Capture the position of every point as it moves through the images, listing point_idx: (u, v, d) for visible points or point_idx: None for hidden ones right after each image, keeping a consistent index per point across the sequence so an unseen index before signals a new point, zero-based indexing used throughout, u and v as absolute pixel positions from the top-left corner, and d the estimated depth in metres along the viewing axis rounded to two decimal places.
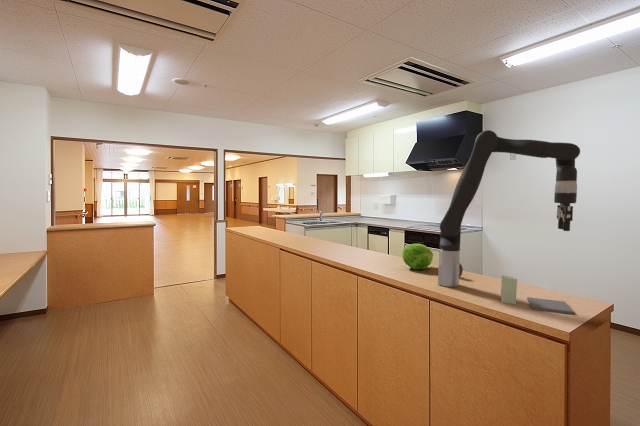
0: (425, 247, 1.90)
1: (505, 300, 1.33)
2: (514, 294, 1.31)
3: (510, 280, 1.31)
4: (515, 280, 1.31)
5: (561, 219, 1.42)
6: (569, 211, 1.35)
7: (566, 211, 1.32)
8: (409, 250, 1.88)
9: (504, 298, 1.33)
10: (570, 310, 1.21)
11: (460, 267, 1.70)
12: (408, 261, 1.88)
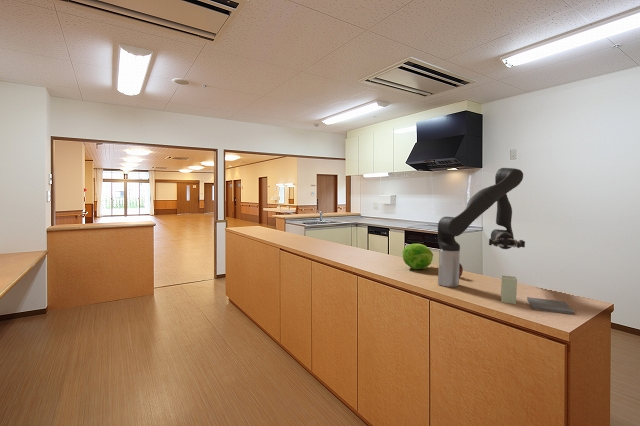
0: (425, 247, 1.90)
1: (505, 300, 1.33)
2: (514, 294, 1.31)
3: (510, 280, 1.31)
4: (515, 280, 1.31)
5: None
6: None
7: None
8: (409, 250, 1.88)
9: (504, 298, 1.33)
10: (570, 310, 1.21)
11: (460, 267, 1.70)
12: (408, 261, 1.88)
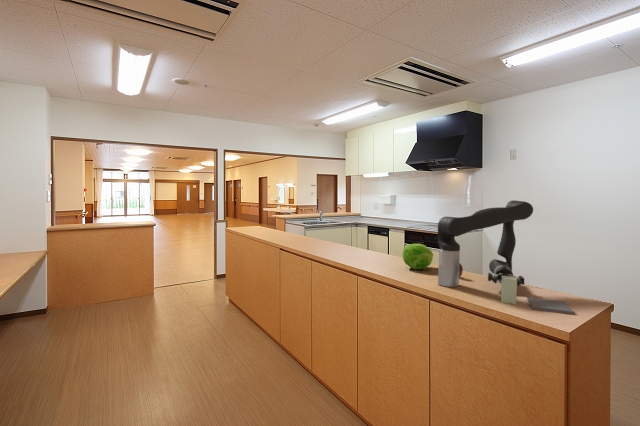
0: (425, 247, 1.90)
1: (505, 300, 1.33)
2: (514, 294, 1.31)
3: (510, 280, 1.31)
4: (515, 280, 1.31)
5: None
6: None
7: (522, 277, 1.46)
8: (409, 250, 1.88)
9: (504, 298, 1.33)
10: (570, 310, 1.21)
11: (460, 267, 1.70)
12: (408, 261, 1.88)
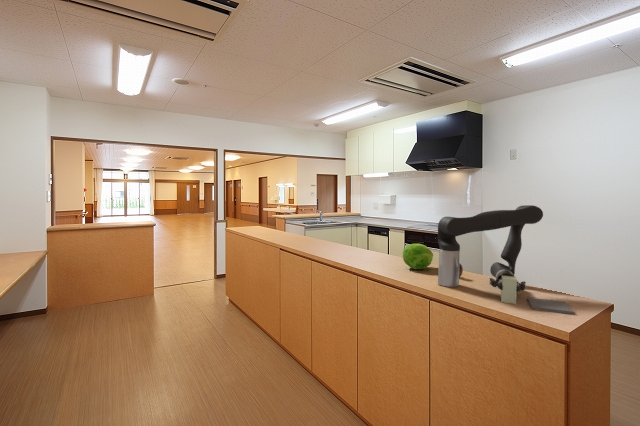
0: (425, 247, 1.90)
1: (505, 300, 1.33)
2: (514, 294, 1.31)
3: (510, 280, 1.31)
4: (515, 280, 1.31)
5: None
6: None
7: (525, 283, 1.36)
8: (409, 250, 1.88)
9: (504, 298, 1.33)
10: (570, 310, 1.21)
11: (460, 267, 1.70)
12: (408, 261, 1.88)
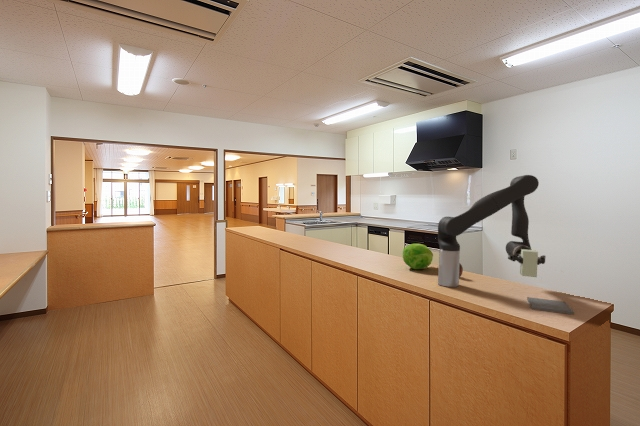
0: (425, 247, 1.90)
1: (526, 274, 1.29)
2: (535, 267, 1.28)
3: (531, 253, 1.28)
4: (536, 253, 1.28)
5: None
6: None
7: None
8: (409, 250, 1.88)
9: (524, 271, 1.30)
10: (570, 310, 1.21)
11: (460, 267, 1.70)
12: (408, 261, 1.88)
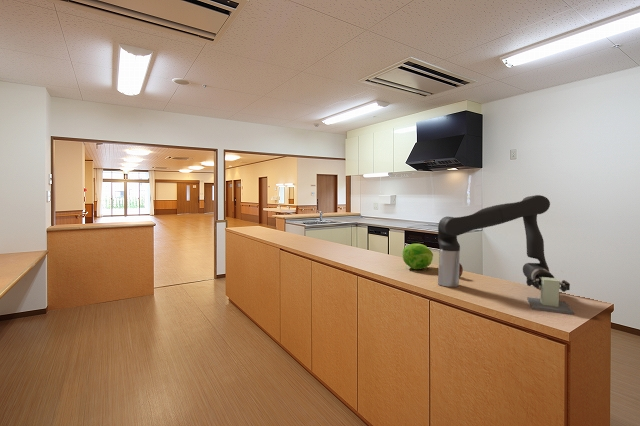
0: (425, 247, 1.90)
1: (547, 303, 1.27)
2: (556, 296, 1.25)
3: (552, 282, 1.26)
4: (557, 282, 1.25)
5: None
6: None
7: None
8: (409, 250, 1.88)
9: (545, 300, 1.27)
10: (570, 310, 1.21)
11: (460, 267, 1.70)
12: (408, 261, 1.88)
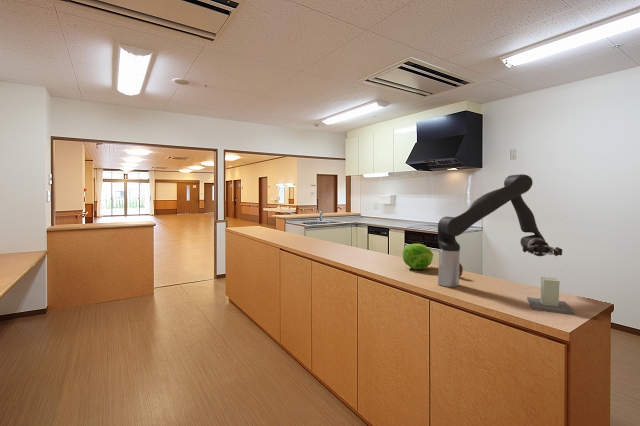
0: (425, 247, 1.90)
1: (547, 303, 1.27)
2: (556, 296, 1.25)
3: (552, 282, 1.26)
4: (557, 282, 1.25)
5: None
6: None
7: None
8: (409, 250, 1.88)
9: (545, 300, 1.27)
10: (570, 310, 1.21)
11: (460, 267, 1.70)
12: (408, 261, 1.88)
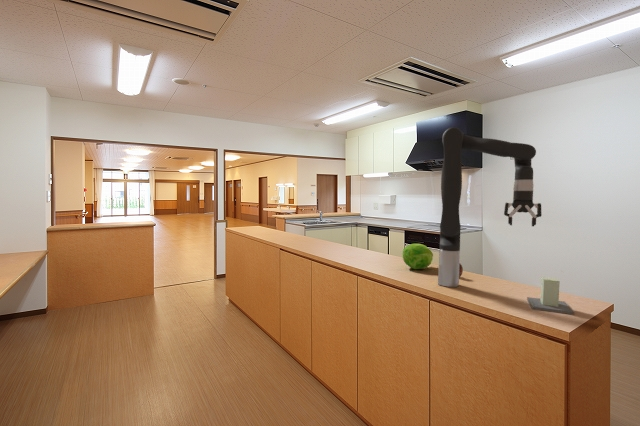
0: (425, 247, 1.90)
1: (547, 303, 1.27)
2: (556, 296, 1.25)
3: (552, 282, 1.26)
4: (557, 282, 1.25)
5: (511, 216, 1.49)
6: None
7: None
8: (409, 250, 1.88)
9: (545, 300, 1.27)
10: (570, 310, 1.21)
11: (460, 267, 1.70)
12: (408, 261, 1.88)
